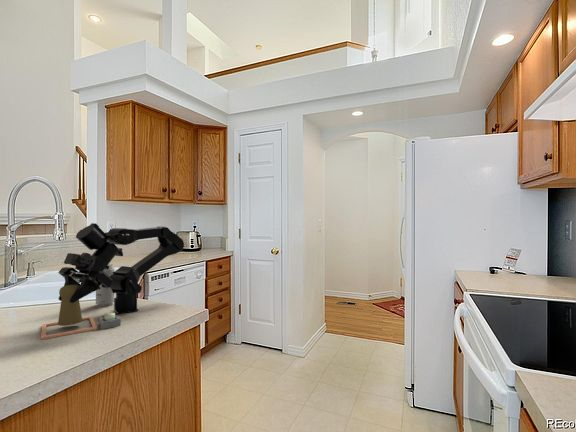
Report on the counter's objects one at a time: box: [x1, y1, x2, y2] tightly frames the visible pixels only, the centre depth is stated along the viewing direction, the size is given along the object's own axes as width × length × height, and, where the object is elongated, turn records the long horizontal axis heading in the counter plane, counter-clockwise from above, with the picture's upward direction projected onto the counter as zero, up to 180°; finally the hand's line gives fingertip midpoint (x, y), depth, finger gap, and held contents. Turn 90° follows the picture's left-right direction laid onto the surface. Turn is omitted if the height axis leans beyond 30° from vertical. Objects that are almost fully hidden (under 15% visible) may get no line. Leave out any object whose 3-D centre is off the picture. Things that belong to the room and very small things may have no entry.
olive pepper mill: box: [57, 285, 83, 327], centre depth 94 cm, size 6×6×11 cm
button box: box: [98, 314, 121, 330], centre depth 96 cm, size 5×5×2 cm
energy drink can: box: [95, 263, 115, 307], centre depth 119 cm, size 6×6×15 cm
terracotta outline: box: [40, 315, 98, 341], centre depth 94 cm, size 13×13×1 cm
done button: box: [104, 312, 116, 321], centre depth 96 cm, size 3×3×2 cm
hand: (65, 301), depth 93 cm, fingers closed on olive pepper mill, 5 cm apart
